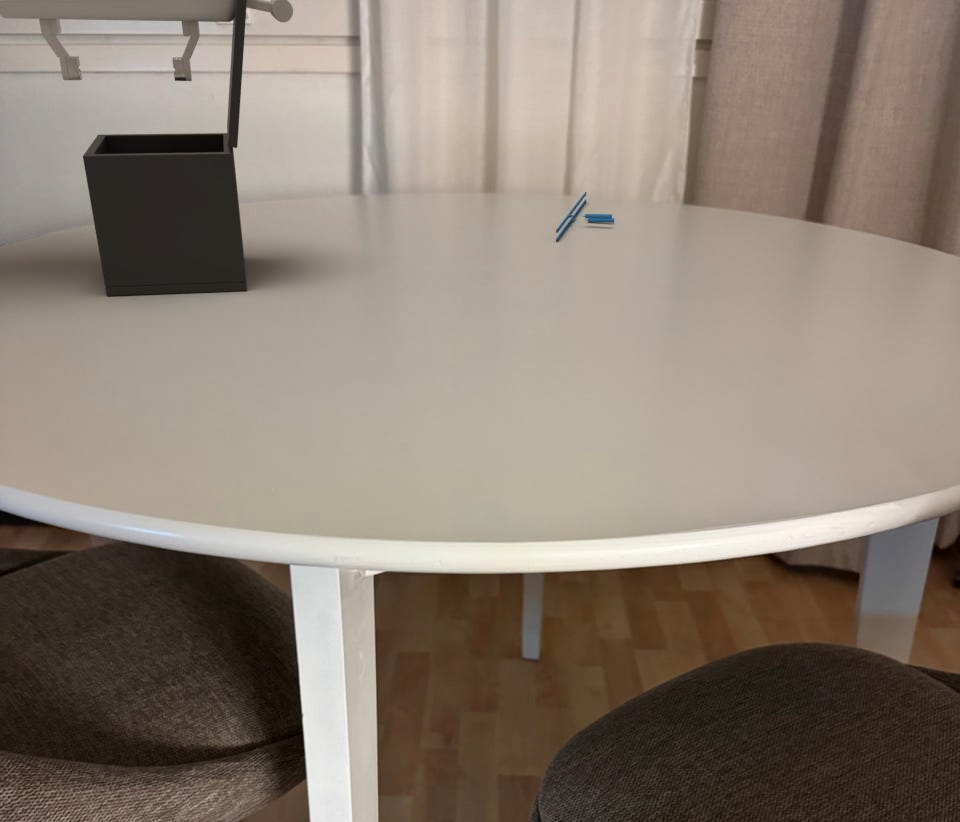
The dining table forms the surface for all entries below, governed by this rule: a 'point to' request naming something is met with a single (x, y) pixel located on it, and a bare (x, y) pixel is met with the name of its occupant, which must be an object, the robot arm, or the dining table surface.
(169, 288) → the box
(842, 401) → the dining table surface
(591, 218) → the chopsticks
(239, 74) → the lid
